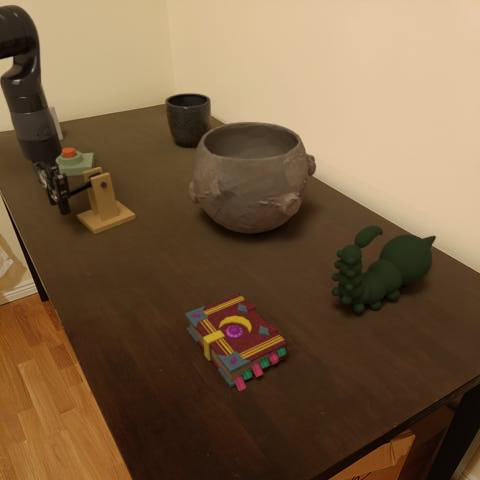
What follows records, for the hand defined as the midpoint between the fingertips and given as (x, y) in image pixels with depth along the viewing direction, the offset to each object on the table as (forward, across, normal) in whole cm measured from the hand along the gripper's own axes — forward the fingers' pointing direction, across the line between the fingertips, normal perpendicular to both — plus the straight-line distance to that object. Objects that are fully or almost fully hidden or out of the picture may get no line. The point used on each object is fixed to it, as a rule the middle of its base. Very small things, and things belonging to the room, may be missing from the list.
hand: (60, 208), depth 96 cm
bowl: (+6, +24, +35) cm, 43 cm away
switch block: (+6, -32, +16) cm, 37 cm away
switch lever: (-2, 0, +5) cm, 6 cm away
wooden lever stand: (+6, 0, +10) cm, 12 cm away
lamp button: (+3, -32, +16) cm, 36 cm away
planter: (+6, -26, +54) cm, 60 cm away
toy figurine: (+6, +61, +37) cm, 72 cm away
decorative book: (+6, +54, +7) cm, 54 cm away
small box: (+7, -57, +19) cm, 61 cm away
